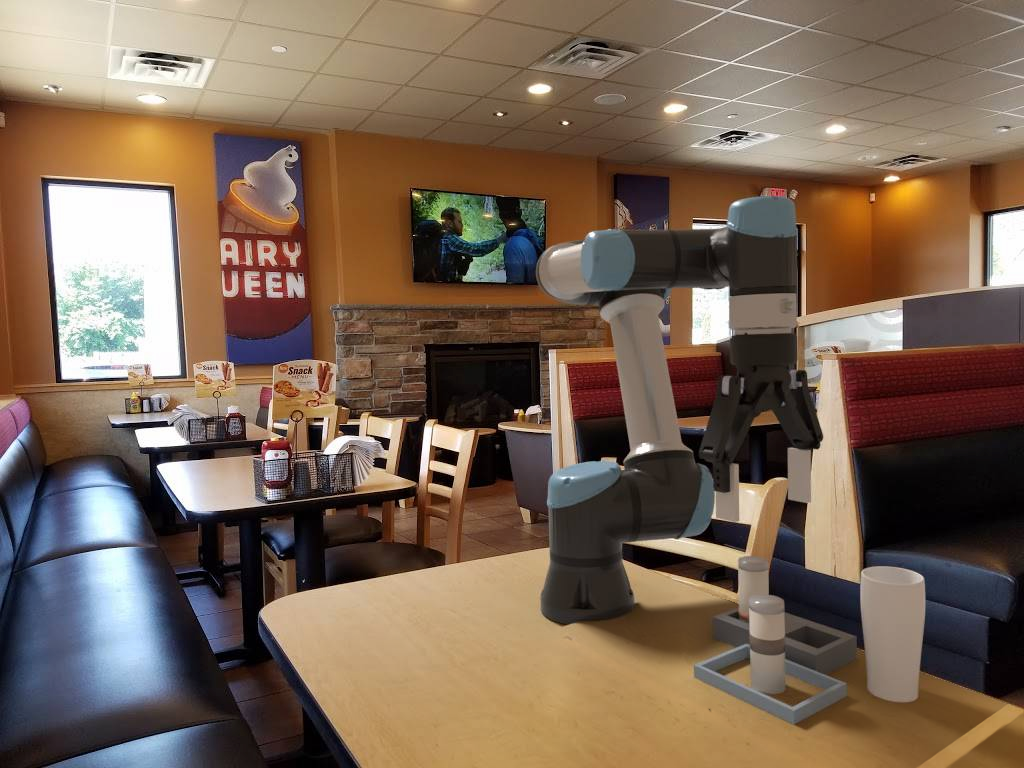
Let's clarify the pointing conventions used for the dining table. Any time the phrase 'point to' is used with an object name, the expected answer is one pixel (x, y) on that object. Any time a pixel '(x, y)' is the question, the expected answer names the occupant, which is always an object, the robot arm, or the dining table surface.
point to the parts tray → (795, 714)
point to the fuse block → (795, 641)
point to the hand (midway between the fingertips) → (765, 510)
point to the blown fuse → (767, 644)
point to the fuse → (751, 582)
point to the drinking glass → (892, 630)
